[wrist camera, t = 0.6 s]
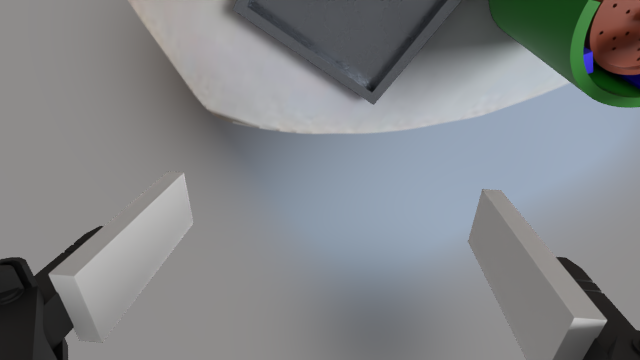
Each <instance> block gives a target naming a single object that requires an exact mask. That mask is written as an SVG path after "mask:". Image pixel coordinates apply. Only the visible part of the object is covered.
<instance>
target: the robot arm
mask: <svg viewBox="0 0 640 360" xmlns="http://www.w3.org/2000/svg"><path fill="white" fill-rule="evenodd" d="M192 224H193V218H192V213H191V207H190V202H189V197H188V192H187V186H186V181H185V176H184V173H183V172H167V173H165V174H164V175H163V176H162V177H161V178H160V179H158V180H157V181H156V182H155V183H154V184H153V185H151V186H150V187H149V188H148V189H147V190H146V191H145V192H143V193H142V194H141V195H140V196H139V197H137V198H136V199H135V200H134V201H133V202H132V203H130V204H129V205H128V206H127V207H126V208H125V209H124V210H122V211H121V212H120V213H119V214H118V215H117V216H115V217H114V218H113V219H112V220H111V221H110V222H108V223H107V224H106V225H105V226H99V227H97V228H96V229H94V230H92V231H90V232H88V233H86V234H84V235H83V236H82V237H81V238H80V239H78V240H77V241H76V242H75V243H74V245H71V246H70V247H69V248H67V249H66V250H65V252H64V253H61V254H60V255H59V256H58V257H57V258H55V259H54V260H53V261H52V262H51V263H49V264H48V265H47V266H46V267H44V268H43V269H42V270H41V271H40V272H39V273H37V274H36V275H35V276H33V274H32V272H31V270H30V268H29V266H28V264H27V262H26V260H25V259H22V258H20V257H17V258H13V257H12V258H6V259H1V260H0V360H68V345H67V342H66V340H65V338H64V337H65V336H66V335H67V334H68V333H69V332H70V331H71V330H72V328H74V330H75V332H76V334H77V336H78V339H79V341H89V342H100V343H103V341H104V340H105V339H106V337H107V336H108V335H109V333H110V332H111V331H112V329H113V328H114V327H115V325H116V324H117V323H118V321H119V320H120V319H121V318H122V316H123V315H124V314H125V312H126V311H127V310H128V308H129V307H130V306H131V304H132V303H133V302H134V300H135V299H136V298H137V297H138V295H139V294H140V292H141V291H142V290H143V289H144V287H145V286H146V285H147V283H148V282H149V281H150V279H151V278H152V277H153V275H154V274H155V273H156V272H157V270H158V269H159V268H160V266H161V265H162V263H163V262H164V261H165V260H166V258H167V257H168V256H169V254H170V253H171V252H172V251H173V249H174V248H175V246H176V245H177V244H178V243H179V241H180V240H181V239H182V237H183V236H184V235H185V233H186V232H187V231H188V230H189V228H190V227H191V225H192ZM468 242H469V244H470V246H471V249H472V251H473V253H474V254H475V257H476V259H477V261H478V263H479V265H480V267H481V269H482V271H483V273H484V275H485V277H486V279H487V281H488V283H489V285H490V287H491V289H492V291H493V293H494V295H495V297H496V299H497V301H498V303H499V305H500V307H501V309H502V311H503V313H504V315H505V318H506V319H507V322H508V324H509V326H510V327H511V329H512V331H513V334H514V336H515V338H516V340H517V342H518V344H519V346H520V348H521V350H522V352H523V354H524V356H525V358H526V360H640V331H638V330H636V329H635V328H634V327H633V326H632V325H631V324H630V323H629V322H628V321H627V319H626V318H625V317H624V316H623V315H622V314H621V312H620V311H619V310H618V309H617V308H616V307H615V306H614V305H613V303H612V302H611V301H610V300H609V299H608V298H607V297H606V296H605V294H603V293H601V290H600V289H599V288H598V286H597V285H596V284H595V283H593V282H592V280H591V279H590V278H589V277H588V275H587V274H586V273H585V272H584V271H583V270H582V269H581V268H580V267H579V266H577V265H576V264H574V263H573V262H571V261H570V260H568V259H567V258H563V257H555V256H554V255H553V253H552V252H551V251H550V250H549V248H548V247H547V246H546V245H545V244H544V242H543V241H542V240H541V239H540V237H539V236H538V235H537V234H536V232H535V231H534V230H533V229H532V228H531V226H530V225H529V224H528V223H527V221H526V220H525V219H524V218H523V217H522V216H521V214H520V213H519V212H518V211H517V210H516V208H515V207H514V206H513V205H512V203H511V202H510V201H509V199H507V197H506V196H505V195H504V193H503V192H502V191H501V190H487V189H486V190H485V189H482V192H481V196H480V199H479V203H478V207H477V211H476V214H475V218H474V222H473V225H472V229H471V233H470V236H469V240H468Z"/></svg>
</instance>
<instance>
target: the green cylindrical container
mask: <svg viewBox="0 0 640 360" xmlns="http://www.w3.org/2000/svg"><path fill="white" fill-rule="evenodd" d="M489 7H490V11H491V14H492V17H493V19H494V21H495V22H496V24H497V25H498V26H499V27H500V28H501V29H502V30H503V31H504V32H506V33H507V34H508V35H509V36H511V37H512V38H513V39H515V40H516V41H517V42H519V43H520V44H521V45H523V46H524V47H525V48H527V49H528V50H529V51H530V52H532V53H533V54H534V55H536V56H537V57H538V58H540V59H541V60H542V61H544V62H545V63H546V64H547V65H549V66H550V67H551V68H553V69H554V70H555V71H557V72H558V73H559V74H561V75H562V76H563V77H565V78H566V79H567V80H568V81H570V82H571V83H573V84H574V85H575V86H576V87H578V88H579V89H580V90H582V91H583V92H584V93H586V94H587V95H588V96H590V97H591V98H593V99H594V100H596V101H598V102H601V103H603V104H607V105H611V106H616V107H640V0H489Z"/></svg>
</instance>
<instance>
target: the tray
mask: <svg viewBox="0 0 640 360" xmlns="http://www.w3.org/2000/svg"><path fill="white" fill-rule="evenodd" d="M460 2H461V0H237V1H236V4H235V6H234V8H233V10H234V11H235V12H237V13H238V14H240V15H241V16H243V17H244V18H246V19H247V20H249V21H250V22H252V23H253V24H255V25H256V26H258V27H259V28H261V29H262V30H264V31H265V32H266V33H268V34H269V35H271V36H272V37H274V38H275V39H277V40H278V41H280V42H281V43H283V44H284V45H286V46H287V47H289V48H290V49H292V50H293V51H295V52H296V53H298V54H299V55H301V56H302V57H303V58H305V59H306V60H308V61H309V62H311V63H312V64H314V65H315V66H317V67H318V68H320V69H321V70H323V71H324V72H326V73H327V74H329V75H330V76H332V77H333V78H335V79H336V80H338V81H339V82H341V83H342V84H343V85H345V86H346V87H348V88H349V89H351V90H352V91H354V92H355V93H357V94H358V95H360V96H361V97H363V98H364V99H366V100H367V101H369V102H370V103H372V104H373V105H374V104H375V103H376V101H377V100H378V99H379V98H380V97H381V96H382V94H383V93H384V92H385V91H386V90H387V88H388V87H389V86H390V85H391V84H392V82H393V81H394V80H395V79H396V78H397V76H398V75H399V74H400V73H401V72H402V71H403V69H404V68H405V67H406V66H407V65H408V63H409V62H410V61H411V60H412V59H413V57H414V56H415V55H416V54H417V53H418V52H419V50H420V49H421V48H422V47H423V46H424V44H425V43H426V42H427V41H428V40H429V38H430V37H431V36H432V35H433V34H434V32H435V31H436V30H437V29H438V28H439V27H440V25H441V24H442V23H443V22H444V21H445V19H446V18H447V17H448V16H449V15H450V13H451V12H452V11H453V10H454V9H455V7H456V6H457V5H458V4H459V3H460Z"/></svg>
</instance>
